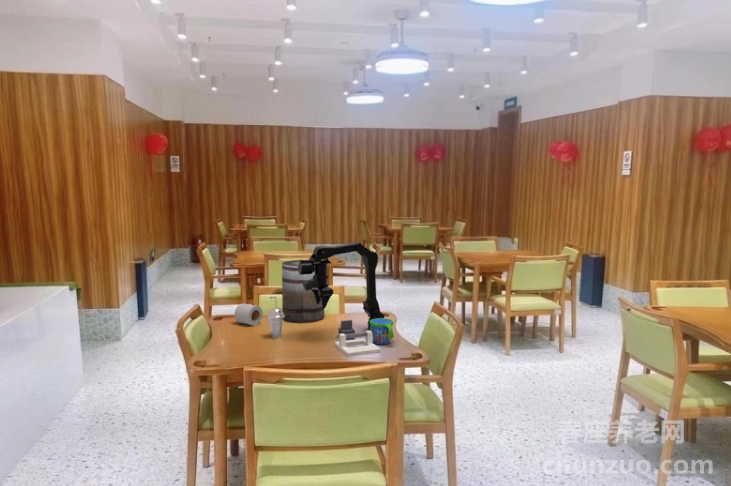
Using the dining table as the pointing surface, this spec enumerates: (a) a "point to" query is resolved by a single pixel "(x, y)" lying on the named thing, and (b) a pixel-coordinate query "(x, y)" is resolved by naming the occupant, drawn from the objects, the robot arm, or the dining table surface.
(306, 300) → the barrel
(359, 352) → the white square base
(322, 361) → the dining table surface
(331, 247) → the robot arm
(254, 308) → the toilet paper
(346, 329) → the bracket
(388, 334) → the snack cup
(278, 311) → the cup with straw
